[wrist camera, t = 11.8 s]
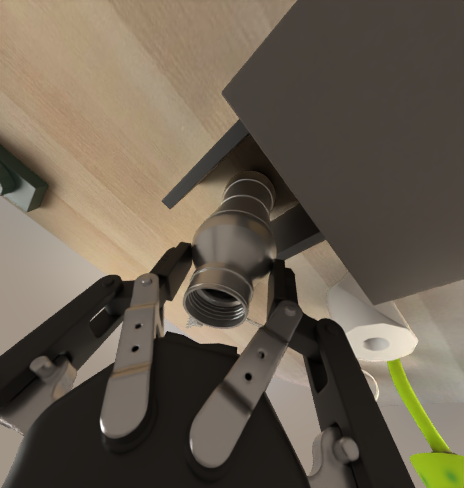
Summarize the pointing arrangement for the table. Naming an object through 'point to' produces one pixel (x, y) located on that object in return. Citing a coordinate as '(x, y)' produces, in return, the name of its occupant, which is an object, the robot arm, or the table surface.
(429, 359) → the table surface
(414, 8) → the dark box with flaps
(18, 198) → the control pad
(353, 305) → the toilet tissue
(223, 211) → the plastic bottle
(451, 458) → the mushroom
